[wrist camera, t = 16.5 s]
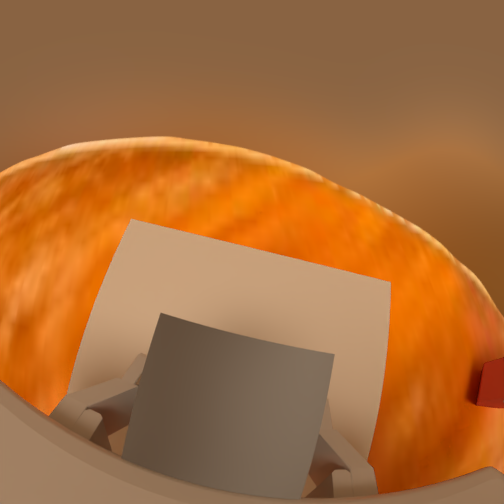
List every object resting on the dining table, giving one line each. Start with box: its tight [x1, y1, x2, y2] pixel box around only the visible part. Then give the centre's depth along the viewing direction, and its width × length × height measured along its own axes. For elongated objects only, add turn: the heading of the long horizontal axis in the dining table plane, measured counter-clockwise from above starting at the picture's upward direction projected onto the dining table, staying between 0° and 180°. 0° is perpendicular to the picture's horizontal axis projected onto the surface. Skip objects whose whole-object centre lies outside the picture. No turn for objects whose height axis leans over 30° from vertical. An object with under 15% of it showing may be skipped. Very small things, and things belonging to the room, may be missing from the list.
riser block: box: [67, 219, 391, 498], centre depth 17 cm, size 20×20×5 cm
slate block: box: [121, 313, 335, 500], centre depth 9 cm, size 4×4×10 cm
